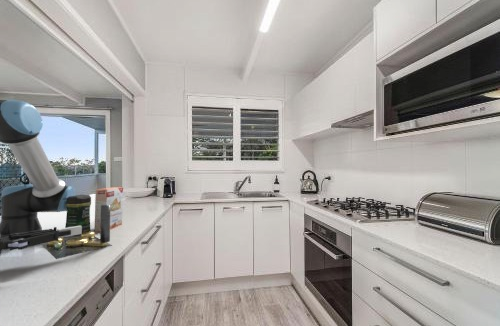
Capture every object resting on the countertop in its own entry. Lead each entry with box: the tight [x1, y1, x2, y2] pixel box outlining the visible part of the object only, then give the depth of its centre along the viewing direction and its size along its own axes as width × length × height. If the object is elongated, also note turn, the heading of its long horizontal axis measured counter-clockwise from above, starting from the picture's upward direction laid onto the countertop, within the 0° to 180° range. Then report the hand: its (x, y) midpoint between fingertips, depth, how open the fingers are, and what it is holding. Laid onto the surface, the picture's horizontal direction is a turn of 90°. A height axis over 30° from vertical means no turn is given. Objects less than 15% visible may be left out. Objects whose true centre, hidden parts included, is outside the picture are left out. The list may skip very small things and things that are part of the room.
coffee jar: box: [64, 194, 92, 237], centre depth 106 cm, size 10×8×19 cm
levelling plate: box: [41, 230, 113, 260], centre depth 90 cm, size 22×17×3 cm
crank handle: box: [66, 205, 111, 247], centre depth 91 cm, size 17×7×16 cm, turn 81°
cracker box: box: [93, 186, 124, 233], centre depth 117 cm, size 14×6×21 cm, turn 179°
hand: (80, 229), depth 82 cm, fingers closed
